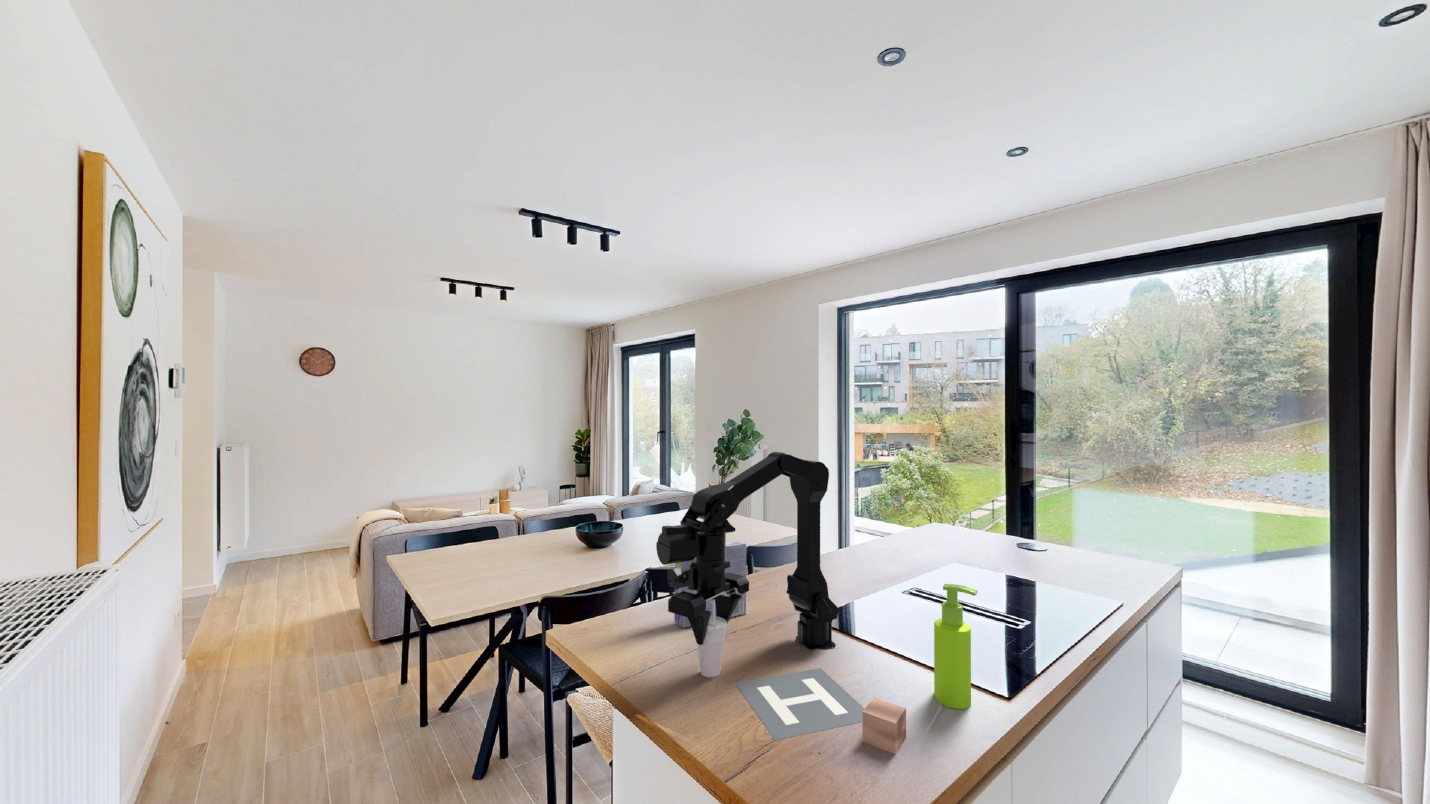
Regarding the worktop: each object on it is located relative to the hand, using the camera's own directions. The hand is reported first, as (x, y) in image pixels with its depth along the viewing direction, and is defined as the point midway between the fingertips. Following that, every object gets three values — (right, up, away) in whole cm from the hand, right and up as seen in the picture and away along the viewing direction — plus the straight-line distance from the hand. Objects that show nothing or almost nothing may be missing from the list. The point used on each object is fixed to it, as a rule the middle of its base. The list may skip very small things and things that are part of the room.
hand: (710, 638), depth 102 cm
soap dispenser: (+43, -7, -9) cm, 44 cm away
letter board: (+16, -7, -10) cm, 20 cm away
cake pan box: (0, -8, +27) cm, 28 cm away
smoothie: (0, -7, 0) cm, 7 cm away
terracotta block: (+27, -7, -21) cm, 35 cm away
